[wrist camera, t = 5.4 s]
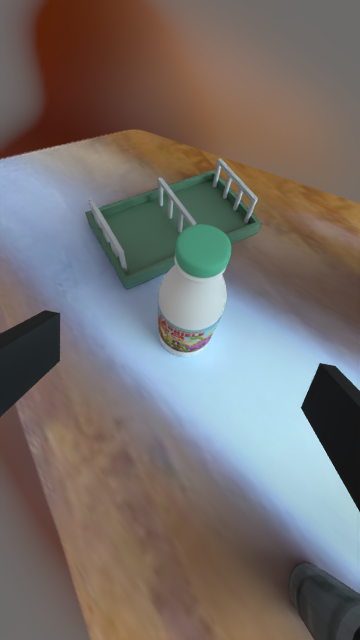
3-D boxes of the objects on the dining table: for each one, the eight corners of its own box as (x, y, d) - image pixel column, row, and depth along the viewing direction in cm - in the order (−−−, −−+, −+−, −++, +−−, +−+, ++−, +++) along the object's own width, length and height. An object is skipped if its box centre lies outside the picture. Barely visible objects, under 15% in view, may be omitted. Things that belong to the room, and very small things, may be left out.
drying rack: (211, 180, 53) (217, 149, 47) (257, 233, 48) (270, 205, 42) (88, 223, 46) (78, 193, 40) (126, 290, 41) (120, 266, 35)
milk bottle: (163, 307, 40) (165, 201, 22) (211, 315, 40) (253, 216, 22) (154, 353, 37) (147, 275, 19) (206, 362, 37) (250, 292, 19)
